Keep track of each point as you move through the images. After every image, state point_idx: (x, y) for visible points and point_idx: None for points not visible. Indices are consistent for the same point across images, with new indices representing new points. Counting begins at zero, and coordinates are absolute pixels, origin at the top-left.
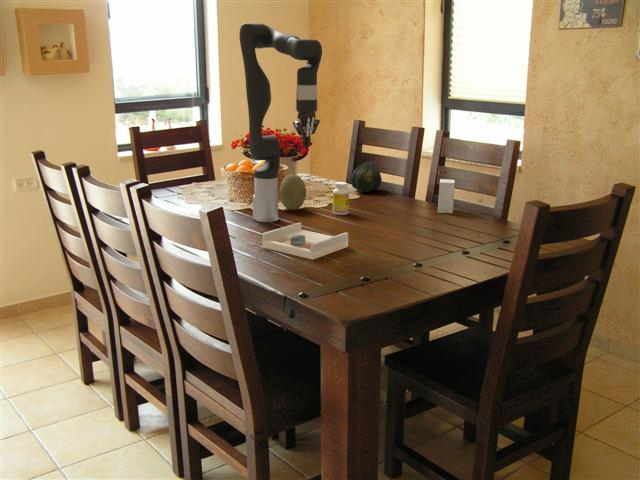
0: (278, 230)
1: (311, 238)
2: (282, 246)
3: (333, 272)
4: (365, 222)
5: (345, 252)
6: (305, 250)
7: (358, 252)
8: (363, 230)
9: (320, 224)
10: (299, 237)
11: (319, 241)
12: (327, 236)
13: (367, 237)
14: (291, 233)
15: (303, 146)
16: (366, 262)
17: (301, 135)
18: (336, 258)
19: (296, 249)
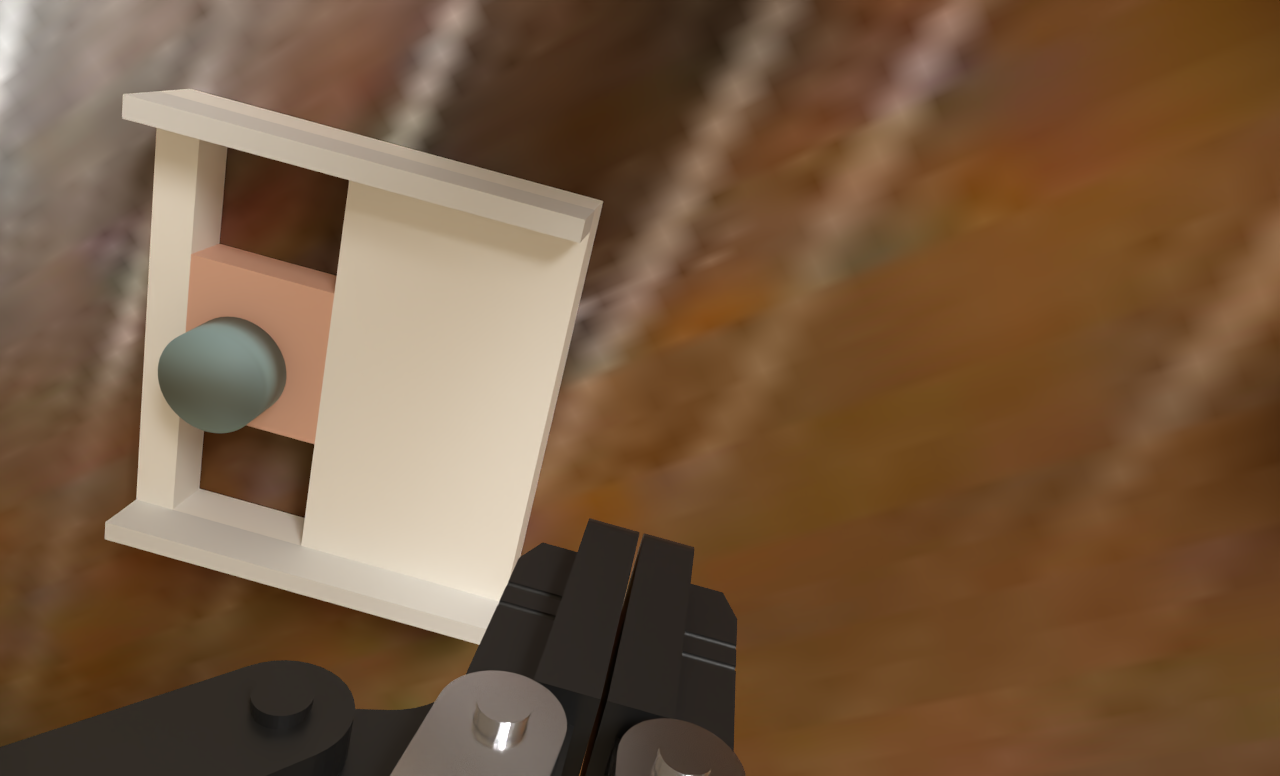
0: (292, 162)
1: (401, 399)
2: (152, 283)
3: (54, 654)
4: (1215, 521)
5: None
6: (141, 465)
7: (434, 672)
8: (953, 571)
9: (1023, 214)
10: (200, 400)
11: (196, 550)
12: (504, 478)
13: (777, 638)
14: (444, 210)
15: (588, 528)
16: None
17: (368, 714)
18: (264, 600)
19: (145, 398)
